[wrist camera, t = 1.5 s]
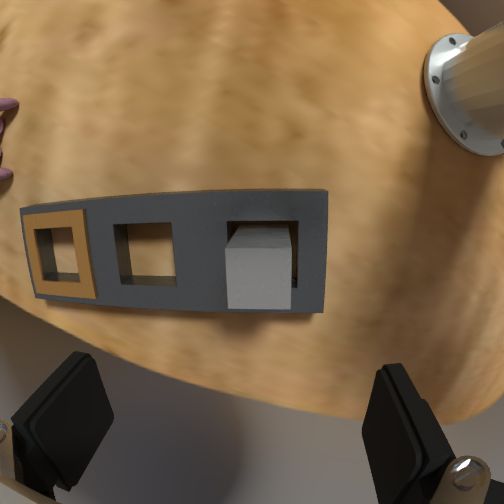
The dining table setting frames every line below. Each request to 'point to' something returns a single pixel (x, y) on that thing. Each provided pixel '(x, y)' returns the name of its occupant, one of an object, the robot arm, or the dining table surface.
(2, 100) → the video game controller
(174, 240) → the grey flat slotted plate
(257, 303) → the steel block
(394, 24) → the dining table surface
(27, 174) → the dining table surface
